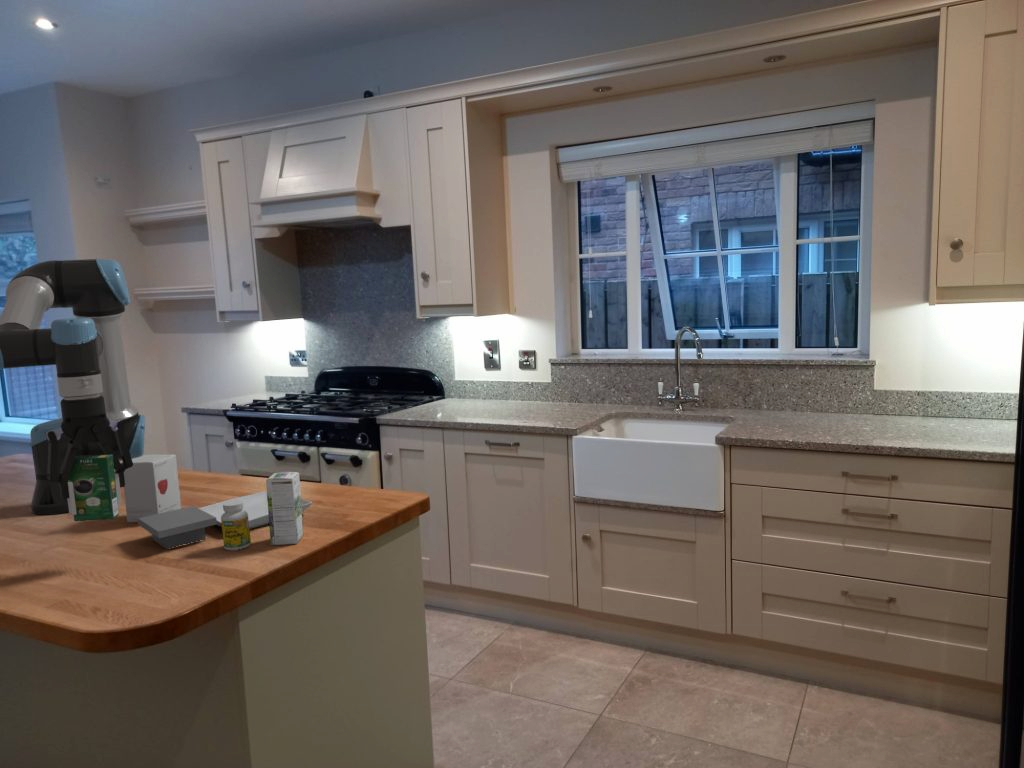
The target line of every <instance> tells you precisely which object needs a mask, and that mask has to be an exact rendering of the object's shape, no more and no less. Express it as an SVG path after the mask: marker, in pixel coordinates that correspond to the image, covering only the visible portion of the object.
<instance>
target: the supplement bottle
mask: <svg viewBox="0 0 1024 768" xmlns="http://www.w3.org/2000/svg"><path fill="white" fill-rule="evenodd" d="M243 507H244V506H243V501H240V500H236V501H229V502H226V503H224V504H223V510H224V511H225V513H223V514H222V516H221V523H222V527H221V532H222V538H223V547H224V549H225V550H226V549H227V551H238V550H237V549H240V550H243V549H242V548H244V549H246V547H247V548H248V547H250V546H251V543H252V540H251V531H250V530H251V529H249V520H248V513H247V512H246V511H245V510H243Z"/></svg>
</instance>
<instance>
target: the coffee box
mask: <svg viewBox="0 0 1024 768" xmlns="http://www.w3.org/2000/svg"><path fill="white" fill-rule="evenodd" d="M114 471H115V469H114V463H113V455H89V456H75V460H74V463H73V466H72V469H71V472H70V475H69V480H70V481H72V482H73V489H74V497H75V505H76V513H77V514H76V515H73V521H74V522H86V521H101V520H102V521H106V520H115V519H116V518H117V517H119V515H120V514H119V505H118V502H117V493H116V483H115V473H114Z"/></svg>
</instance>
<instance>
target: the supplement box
mask: <svg viewBox="0 0 1024 768" xmlns="http://www.w3.org/2000/svg"><path fill="white" fill-rule="evenodd" d="M132 462H133V466H132V467H131V468H128V469H126V470H125V472H124V479H125V486H124V487H123V495H124V503H125V513H126V523H138V518H142V517H146V516H150V515H155V514H159V513H164V512H168V511H173V510H177V509H181V508H182V503H181V502H182V501H181V493H180V484H179V483H180V482H179V473H178V465H177V463H178V462H177V455H176V454H172V453H171V454H143V455H142V456H140V457H137V458H133V459H132ZM121 463H123V461H122V462H121Z"/></svg>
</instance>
